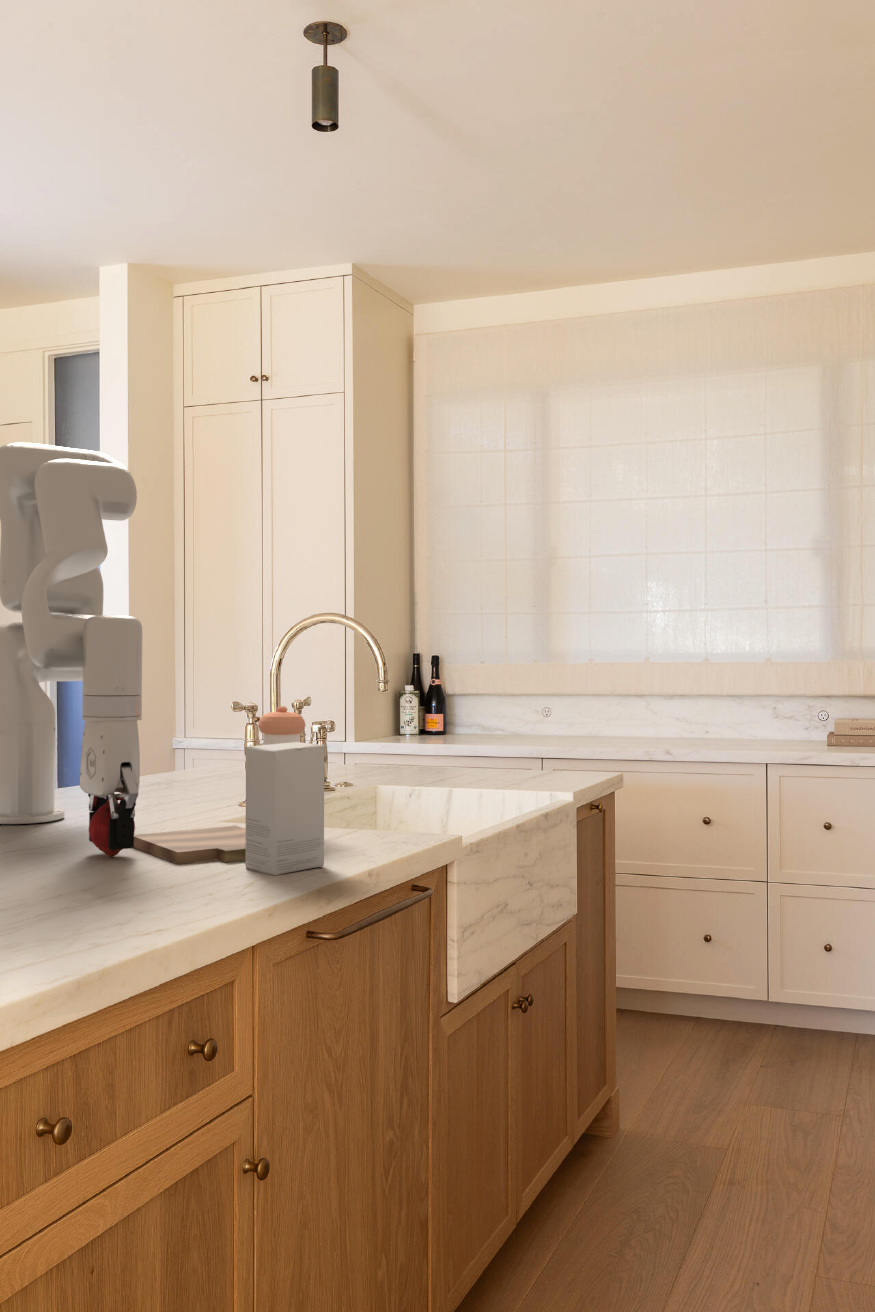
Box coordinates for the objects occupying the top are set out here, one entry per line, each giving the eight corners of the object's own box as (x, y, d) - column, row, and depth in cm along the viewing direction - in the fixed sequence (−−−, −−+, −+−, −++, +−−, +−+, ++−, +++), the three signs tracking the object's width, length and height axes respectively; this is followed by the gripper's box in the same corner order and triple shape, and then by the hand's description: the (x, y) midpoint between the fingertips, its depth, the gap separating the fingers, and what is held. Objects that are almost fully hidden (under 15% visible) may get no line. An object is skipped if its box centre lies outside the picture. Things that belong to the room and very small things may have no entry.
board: (130, 846, 153) (130, 835, 153) (235, 835, 162) (235, 825, 162) (185, 867, 138) (185, 855, 138) (296, 854, 148) (297, 843, 148)
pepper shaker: (300, 830, 168) (301, 705, 168) (309, 837, 161) (311, 707, 161) (252, 832, 166) (253, 705, 166) (260, 839, 159) (261, 707, 159)
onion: (121, 861, 141) (121, 799, 141) (80, 859, 143) (80, 798, 143) (142, 853, 147) (142, 794, 147) (102, 852, 148) (103, 792, 148)
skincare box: (295, 860, 143) (296, 741, 143) (327, 868, 139) (328, 744, 139) (242, 869, 137) (243, 744, 138) (273, 876, 133) (274, 748, 133)
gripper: (62, 707, 150) (61, 838, 150) (108, 712, 136) (106, 857, 136) (116, 705, 154) (114, 833, 154) (165, 711, 140) (164, 851, 140)
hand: (111, 843), depth 145 cm, fingers open, 6 cm apart
